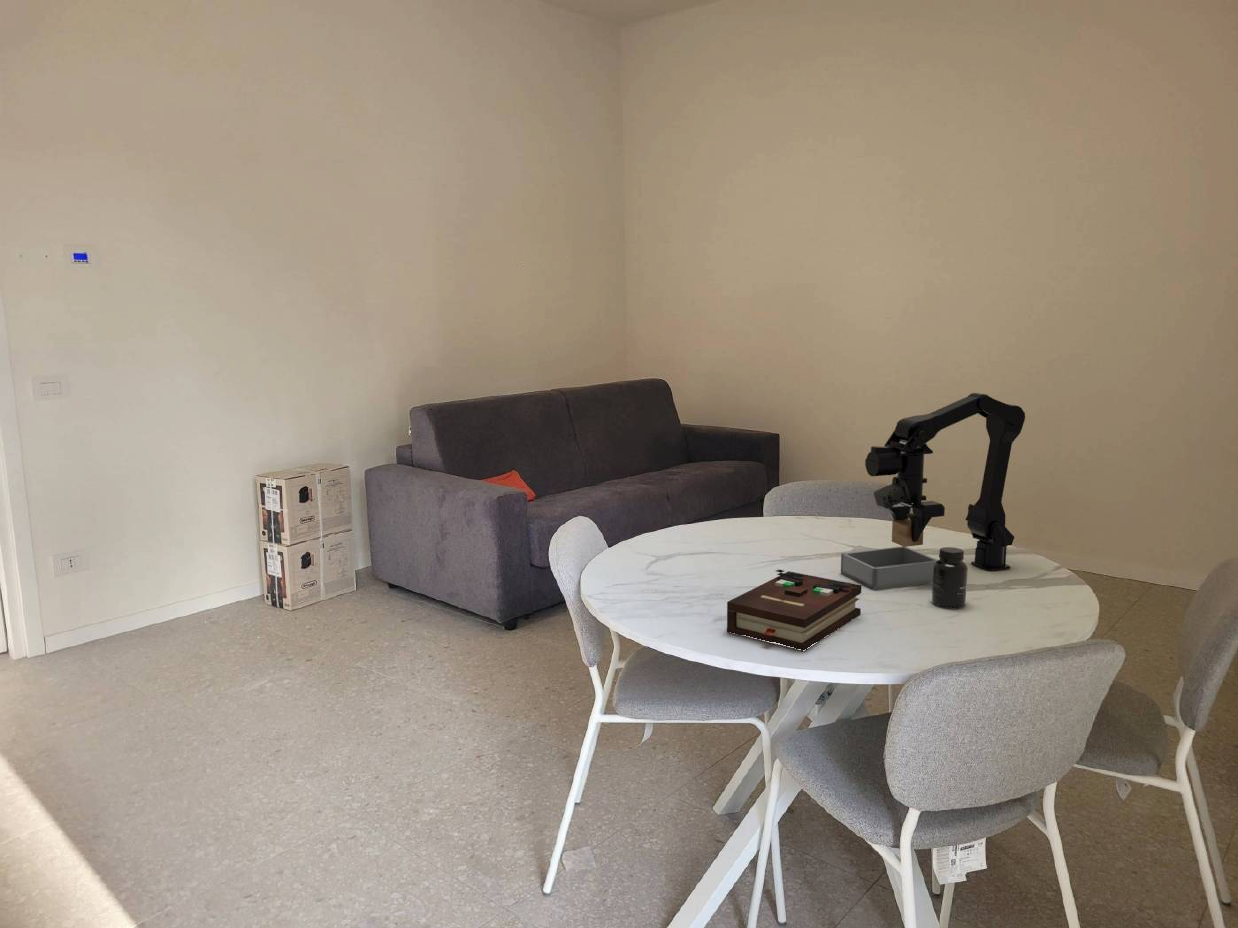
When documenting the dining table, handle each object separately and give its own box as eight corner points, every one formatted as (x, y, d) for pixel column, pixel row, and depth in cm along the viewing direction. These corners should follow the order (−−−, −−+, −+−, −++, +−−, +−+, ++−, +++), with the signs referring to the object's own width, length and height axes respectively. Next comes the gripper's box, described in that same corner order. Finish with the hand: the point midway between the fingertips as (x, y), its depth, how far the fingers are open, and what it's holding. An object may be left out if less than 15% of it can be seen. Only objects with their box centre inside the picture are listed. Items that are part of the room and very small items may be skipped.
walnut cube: (909, 539, 217) (910, 518, 216) (922, 544, 212) (923, 523, 211) (891, 541, 215) (892, 520, 214) (904, 546, 211) (905, 525, 210)
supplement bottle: (968, 610, 191) (971, 554, 189) (934, 608, 193) (936, 553, 191) (962, 599, 198) (965, 546, 196) (929, 597, 199) (932, 544, 197)
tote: (903, 565, 223) (904, 546, 222) (939, 581, 210) (940, 561, 209) (840, 573, 217) (841, 553, 217) (873, 590, 205) (874, 569, 204)
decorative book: (715, 599, 178) (788, 563, 201) (715, 636, 180) (788, 596, 203) (804, 620, 167) (872, 579, 190) (803, 659, 168) (870, 614, 191)
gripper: (857, 469, 217) (855, 532, 220) (905, 483, 200) (902, 552, 202) (897, 465, 220) (895, 528, 223) (947, 479, 203) (944, 547, 206)
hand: (907, 538), depth 214 cm, fingers closed on walnut cube, 5 cm apart
